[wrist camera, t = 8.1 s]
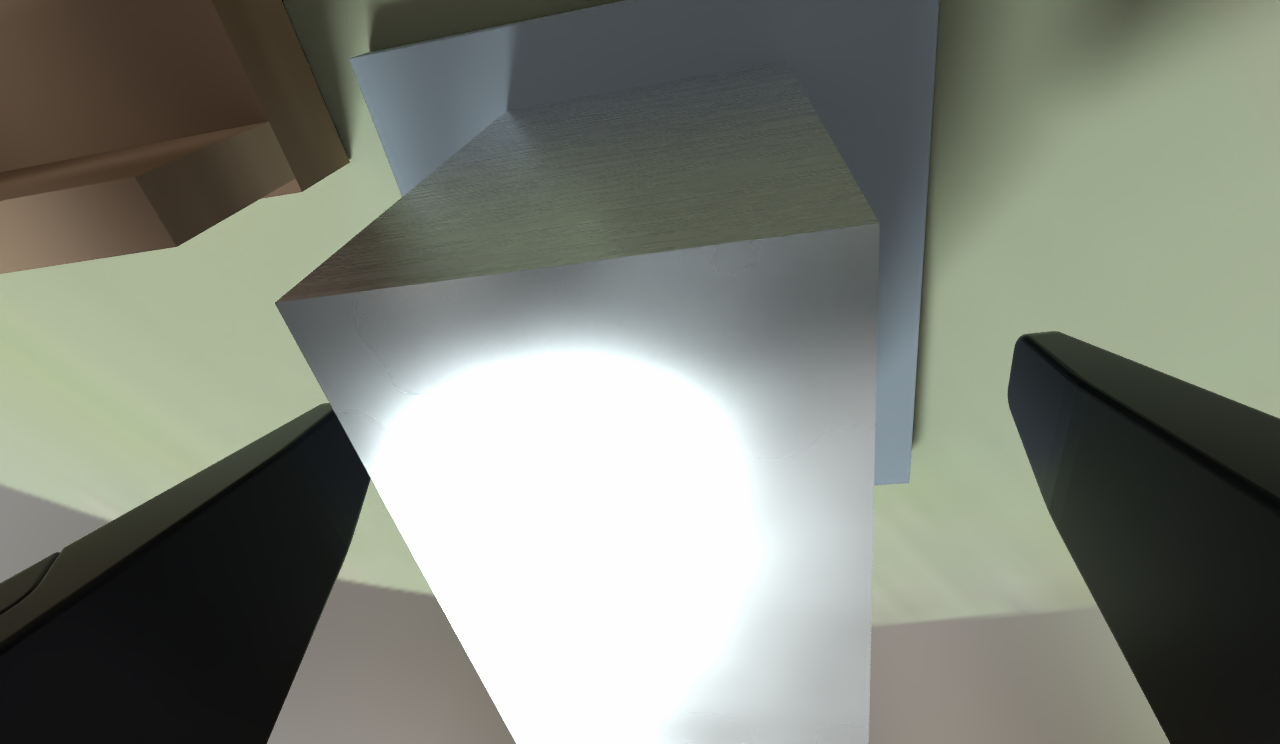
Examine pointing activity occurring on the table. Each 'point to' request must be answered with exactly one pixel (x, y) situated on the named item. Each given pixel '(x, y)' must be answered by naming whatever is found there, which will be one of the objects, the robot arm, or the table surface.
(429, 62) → the rest mat
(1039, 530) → the table surface
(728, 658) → the metal block
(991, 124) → the table surface
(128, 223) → the brown wooden tray
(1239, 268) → the table surface
